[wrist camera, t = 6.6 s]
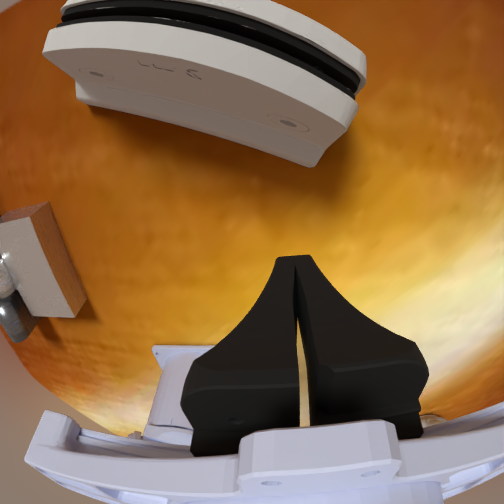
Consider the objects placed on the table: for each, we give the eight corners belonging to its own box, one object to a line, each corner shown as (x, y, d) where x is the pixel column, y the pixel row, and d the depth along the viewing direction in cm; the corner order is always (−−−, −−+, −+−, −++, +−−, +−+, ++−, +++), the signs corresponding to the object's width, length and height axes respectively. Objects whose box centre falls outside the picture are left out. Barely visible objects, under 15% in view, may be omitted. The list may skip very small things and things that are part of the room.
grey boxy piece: (88, 296, 27) (67, 329, 23) (28, 297, 28) (7, 324, 24) (49, 200, 22) (17, 226, 18) (-9, 216, 22) (-38, 239, 19)
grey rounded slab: (82, 103, 18) (-5, 63, 8) (107, 44, 17) (41, -23, 7) (314, 170, 20) (385, 161, 10) (335, 106, 19) (412, 56, 9)
